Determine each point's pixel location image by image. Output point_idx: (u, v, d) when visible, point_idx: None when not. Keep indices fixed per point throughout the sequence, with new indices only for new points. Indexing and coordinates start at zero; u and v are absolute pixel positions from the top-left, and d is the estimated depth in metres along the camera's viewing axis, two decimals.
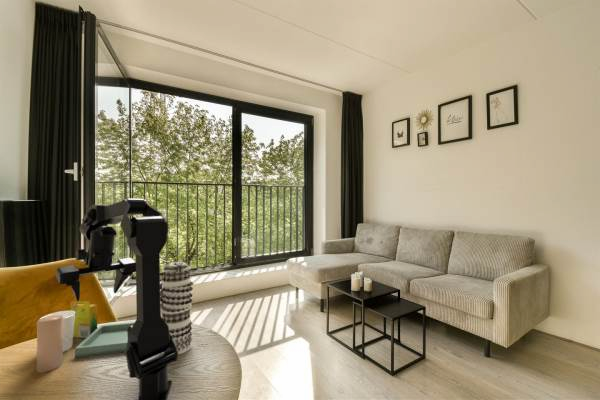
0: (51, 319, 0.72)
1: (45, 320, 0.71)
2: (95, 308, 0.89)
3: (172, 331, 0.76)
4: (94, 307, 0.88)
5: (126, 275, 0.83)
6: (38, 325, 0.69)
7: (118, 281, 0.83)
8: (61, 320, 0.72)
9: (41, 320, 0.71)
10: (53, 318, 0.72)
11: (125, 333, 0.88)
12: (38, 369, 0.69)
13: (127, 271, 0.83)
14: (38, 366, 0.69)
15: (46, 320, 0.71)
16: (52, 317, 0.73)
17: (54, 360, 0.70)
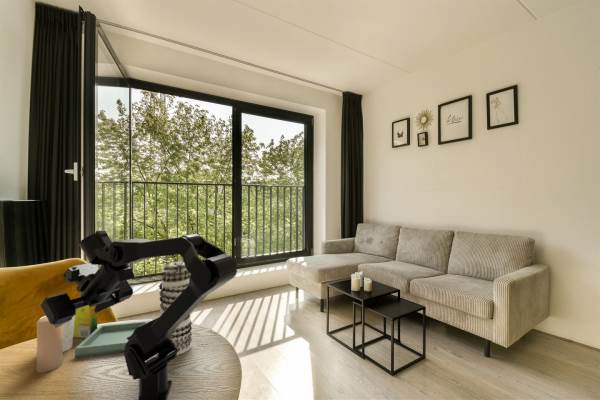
0: None
1: (45, 320, 0.71)
2: None
3: None
4: (94, 307, 0.88)
5: (118, 302, 0.73)
6: (38, 325, 0.69)
7: (106, 305, 0.73)
8: None
9: (41, 320, 0.71)
10: None
11: (125, 333, 0.88)
12: (38, 369, 0.69)
13: (122, 299, 0.73)
14: (38, 366, 0.69)
15: (46, 320, 0.71)
16: None
17: (54, 360, 0.70)
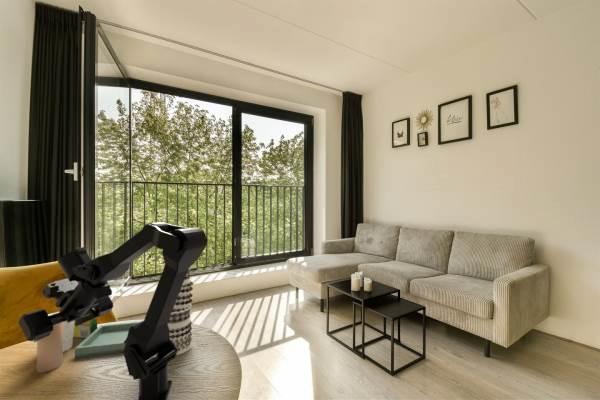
0: None
1: None
2: None
3: (172, 331, 0.76)
4: None
5: (98, 316, 0.75)
6: None
7: (86, 319, 0.75)
8: None
9: None
10: None
11: (125, 333, 0.88)
12: (38, 369, 0.69)
13: (101, 313, 0.75)
14: (38, 366, 0.69)
15: None
16: None
17: (54, 360, 0.70)
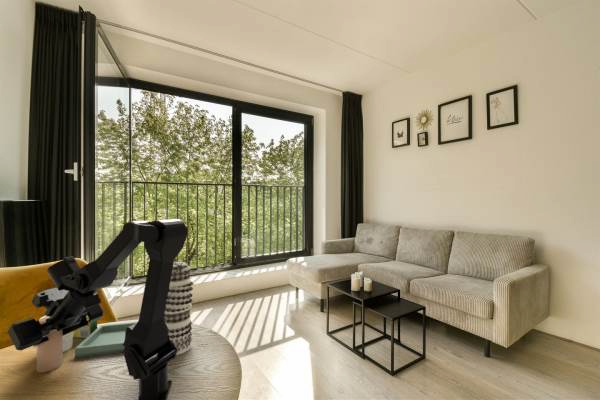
0: None
1: (45, 319, 0.71)
2: None
3: (172, 331, 0.76)
4: None
5: (81, 327, 0.74)
6: None
7: (69, 330, 0.74)
8: None
9: (41, 320, 0.71)
10: None
11: None
12: (38, 369, 0.69)
13: (92, 321, 0.76)
14: (38, 366, 0.69)
15: None
16: None
17: (54, 360, 0.70)
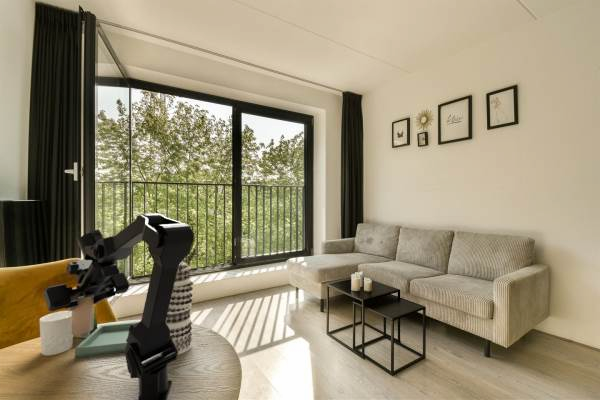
0: None
1: None
2: (95, 308, 0.89)
3: (172, 331, 0.76)
4: (94, 307, 0.88)
5: (109, 297, 0.80)
6: None
7: (99, 299, 0.80)
8: None
9: (75, 287, 0.78)
10: None
11: (125, 333, 0.88)
12: (72, 331, 0.76)
13: (118, 292, 0.81)
14: (72, 329, 0.76)
15: None
16: None
17: (85, 325, 0.77)
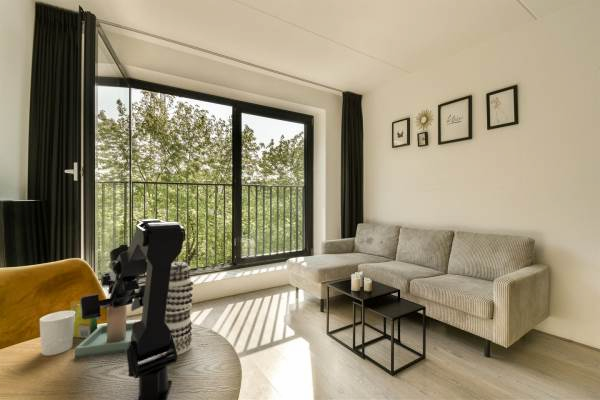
0: None
1: None
2: None
3: (172, 331, 0.76)
4: None
5: None
6: None
7: (136, 306, 0.86)
8: None
9: None
10: None
11: None
12: (107, 339, 0.83)
13: None
14: (107, 336, 0.83)
15: None
16: None
17: (117, 334, 0.83)
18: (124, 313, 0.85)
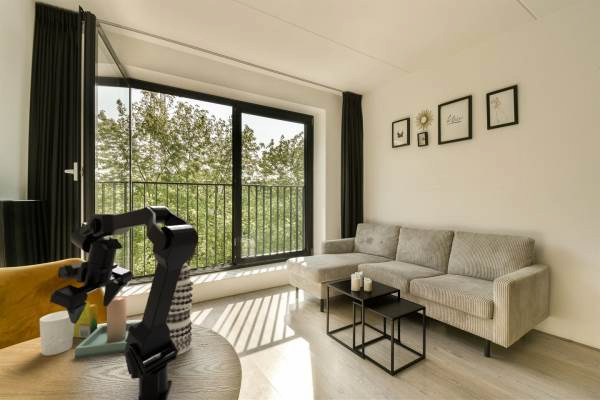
0: (117, 299, 0.84)
1: (113, 299, 0.84)
2: (95, 308, 0.89)
3: (172, 331, 0.76)
4: (94, 307, 0.88)
5: (123, 285, 0.77)
6: None
7: (113, 293, 0.76)
8: (123, 301, 0.84)
9: None
10: (118, 299, 0.84)
11: None
12: (107, 339, 0.83)
13: (125, 281, 0.77)
14: (107, 337, 0.83)
15: None
16: (119, 297, 0.86)
17: (117, 335, 0.83)
18: (124, 313, 0.85)
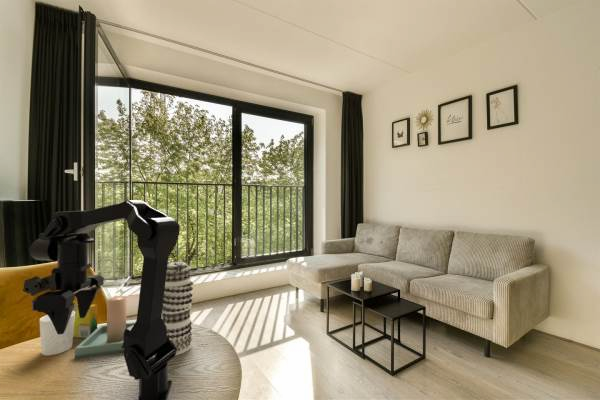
0: (117, 299, 0.84)
1: (113, 299, 0.84)
2: (95, 308, 0.89)
3: (172, 331, 0.76)
4: (94, 307, 0.88)
5: (98, 290, 0.74)
6: (107, 302, 0.83)
7: (89, 300, 0.72)
8: (123, 301, 0.84)
9: (110, 299, 0.84)
10: (118, 299, 0.84)
11: None
12: (107, 339, 0.83)
13: (99, 284, 0.74)
14: (107, 337, 0.83)
15: (112, 299, 0.84)
16: (119, 297, 0.86)
17: (117, 335, 0.83)
18: (124, 313, 0.85)
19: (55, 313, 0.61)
